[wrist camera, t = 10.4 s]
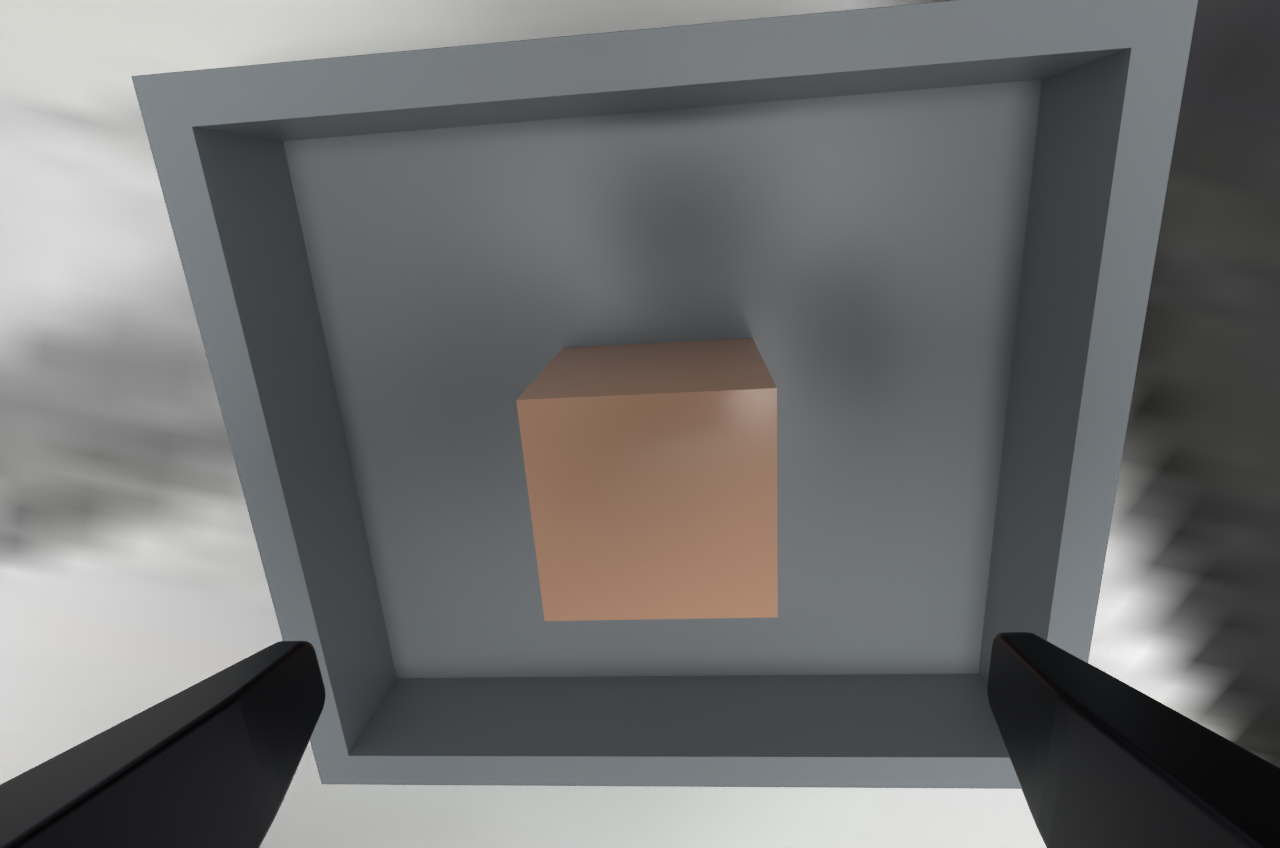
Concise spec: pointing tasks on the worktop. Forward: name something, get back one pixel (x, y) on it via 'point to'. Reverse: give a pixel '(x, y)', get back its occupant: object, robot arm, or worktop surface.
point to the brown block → (654, 481)
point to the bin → (680, 312)
